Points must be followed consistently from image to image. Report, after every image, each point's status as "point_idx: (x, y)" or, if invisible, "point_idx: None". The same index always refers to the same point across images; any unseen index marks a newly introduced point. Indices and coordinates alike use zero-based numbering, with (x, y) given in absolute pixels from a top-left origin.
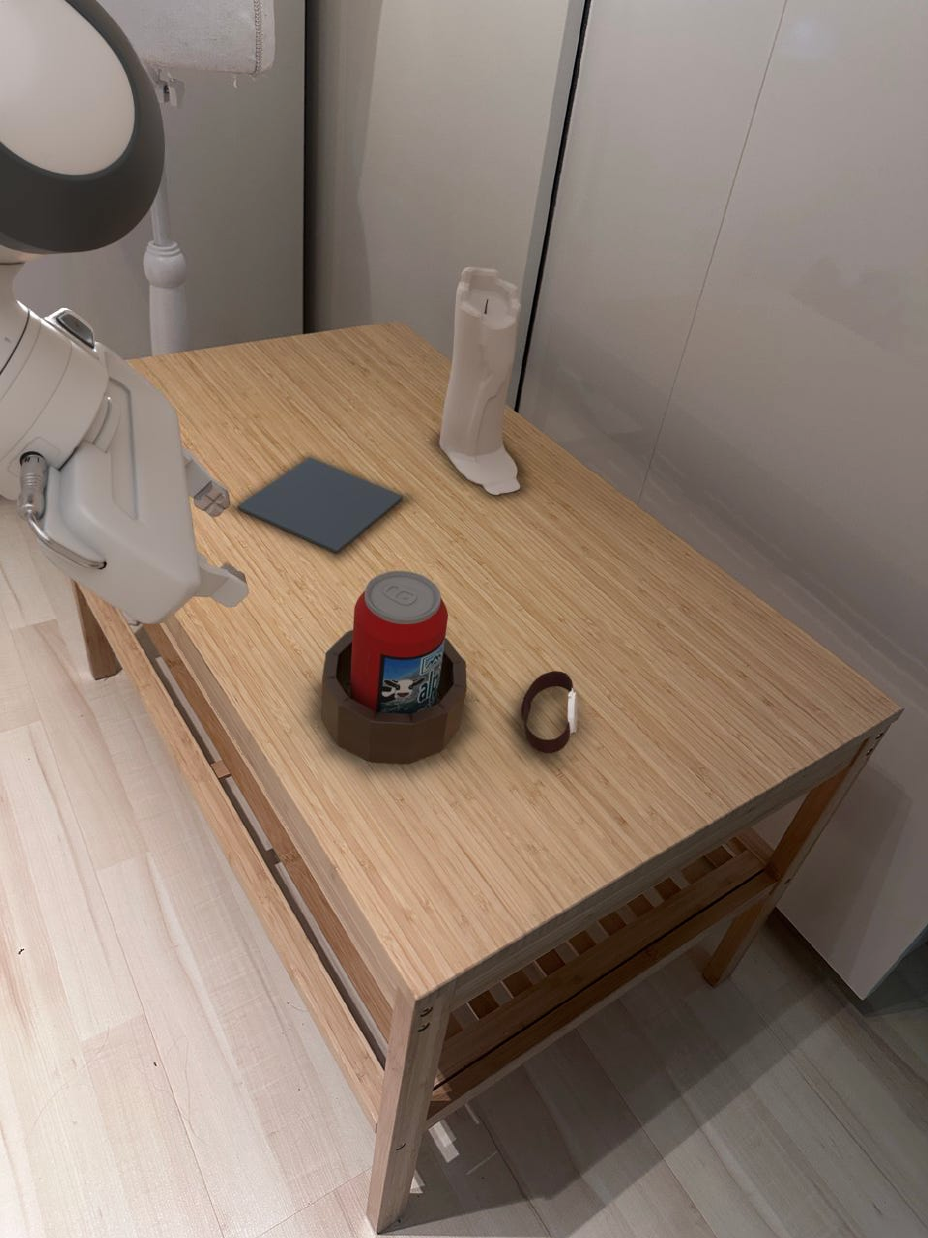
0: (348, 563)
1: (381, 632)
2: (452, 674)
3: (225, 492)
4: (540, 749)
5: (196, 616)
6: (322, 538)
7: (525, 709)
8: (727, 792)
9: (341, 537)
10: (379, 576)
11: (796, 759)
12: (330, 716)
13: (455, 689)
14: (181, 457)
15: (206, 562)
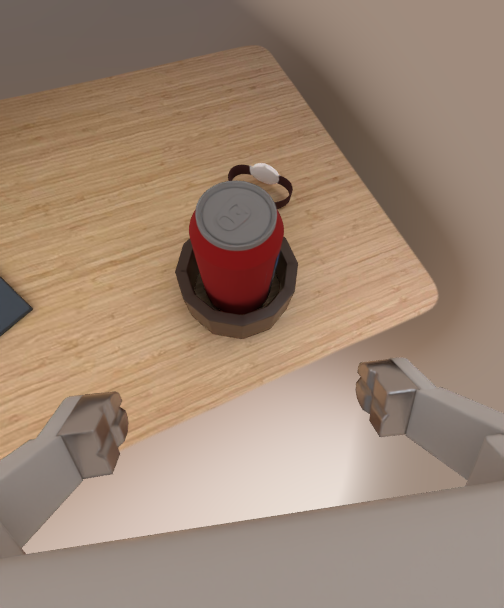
0: (50, 300)
1: (274, 246)
2: None
3: (89, 401)
4: (287, 202)
5: None
6: (5, 319)
7: None
8: (316, 126)
9: (10, 301)
10: (203, 230)
11: (294, 91)
12: (258, 328)
13: None
14: (51, 571)
15: (500, 434)
